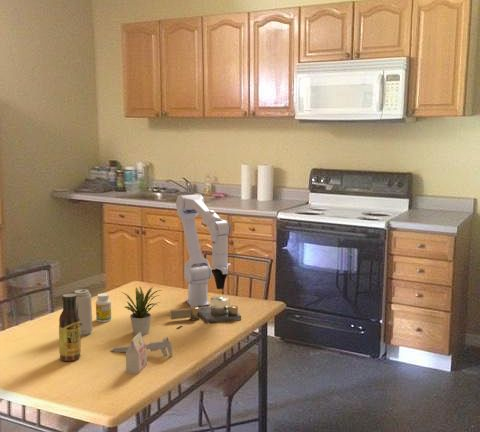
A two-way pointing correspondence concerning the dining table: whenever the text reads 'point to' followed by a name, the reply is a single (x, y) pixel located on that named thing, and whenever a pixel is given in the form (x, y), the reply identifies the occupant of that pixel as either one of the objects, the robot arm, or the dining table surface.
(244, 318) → the dining table surface
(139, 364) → the paper snack bag
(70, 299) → the sauce bottle
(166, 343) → the caliper
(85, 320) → the energy drink can
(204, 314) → the levelling base
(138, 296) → the house plant
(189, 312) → the ball-topped bar
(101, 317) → the supplement bottle
